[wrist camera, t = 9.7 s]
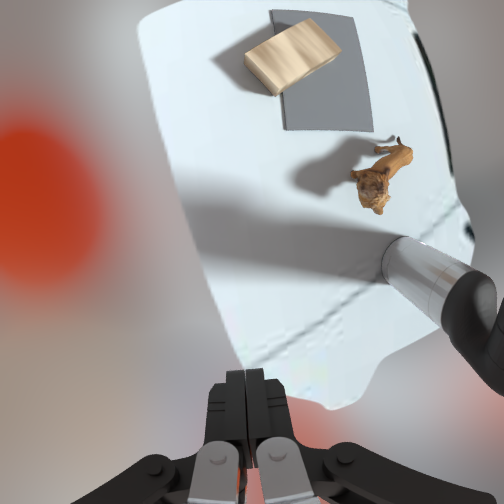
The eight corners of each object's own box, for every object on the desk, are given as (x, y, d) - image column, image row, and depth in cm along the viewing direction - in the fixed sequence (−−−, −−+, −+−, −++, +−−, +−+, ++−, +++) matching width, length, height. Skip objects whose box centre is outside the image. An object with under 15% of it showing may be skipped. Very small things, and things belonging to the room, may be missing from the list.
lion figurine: (357, 212, 40) (385, 223, 32) (334, 190, 39) (359, 196, 31) (406, 147, 37) (439, 146, 29) (385, 124, 36) (417, 117, 28)
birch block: (244, 64, 32) (304, 29, 31) (274, 96, 34) (333, 59, 33) (244, 53, 29) (310, 17, 27) (279, 89, 30) (342, 50, 29)
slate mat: (352, 18, 30) (353, 17, 30) (372, 132, 37) (373, 132, 36) (271, 10, 30) (271, 9, 29) (286, 130, 36) (286, 130, 36)
